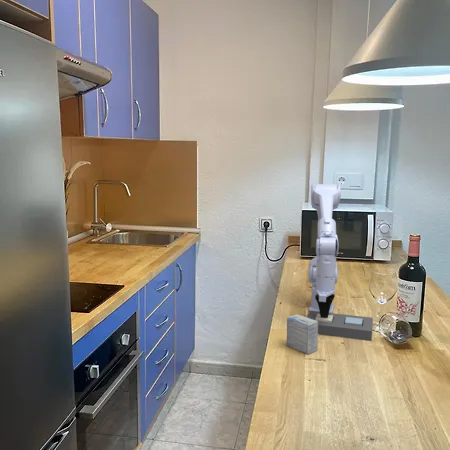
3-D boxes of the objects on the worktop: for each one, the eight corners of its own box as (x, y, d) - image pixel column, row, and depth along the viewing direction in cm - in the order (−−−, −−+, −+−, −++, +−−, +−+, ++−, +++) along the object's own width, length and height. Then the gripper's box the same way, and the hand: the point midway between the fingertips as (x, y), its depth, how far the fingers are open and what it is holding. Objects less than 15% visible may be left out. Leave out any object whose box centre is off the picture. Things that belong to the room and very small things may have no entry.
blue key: (345, 326, 147) (346, 316, 147) (362, 327, 146) (362, 318, 145) (344, 331, 143) (344, 322, 142) (361, 333, 141) (361, 324, 141)
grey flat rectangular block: (309, 319, 154) (309, 310, 154) (372, 326, 148) (372, 317, 148) (303, 332, 143) (303, 322, 143) (371, 340, 137) (371, 331, 136)
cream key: (317, 322, 150) (317, 313, 150) (332, 324, 149) (333, 315, 148) (314, 328, 146) (315, 318, 145) (331, 330, 144) (331, 320, 143)
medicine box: (317, 350, 130) (319, 321, 129) (307, 355, 127) (308, 324, 126) (296, 342, 136) (296, 313, 135) (285, 346, 133) (286, 317, 132)
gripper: (316, 268, 153) (314, 308, 155) (309, 280, 139) (307, 323, 141) (338, 270, 150) (336, 311, 152) (333, 282, 137) (331, 326, 139)
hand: (324, 317), depth 147 cm, fingers closed, pressing on cream key
